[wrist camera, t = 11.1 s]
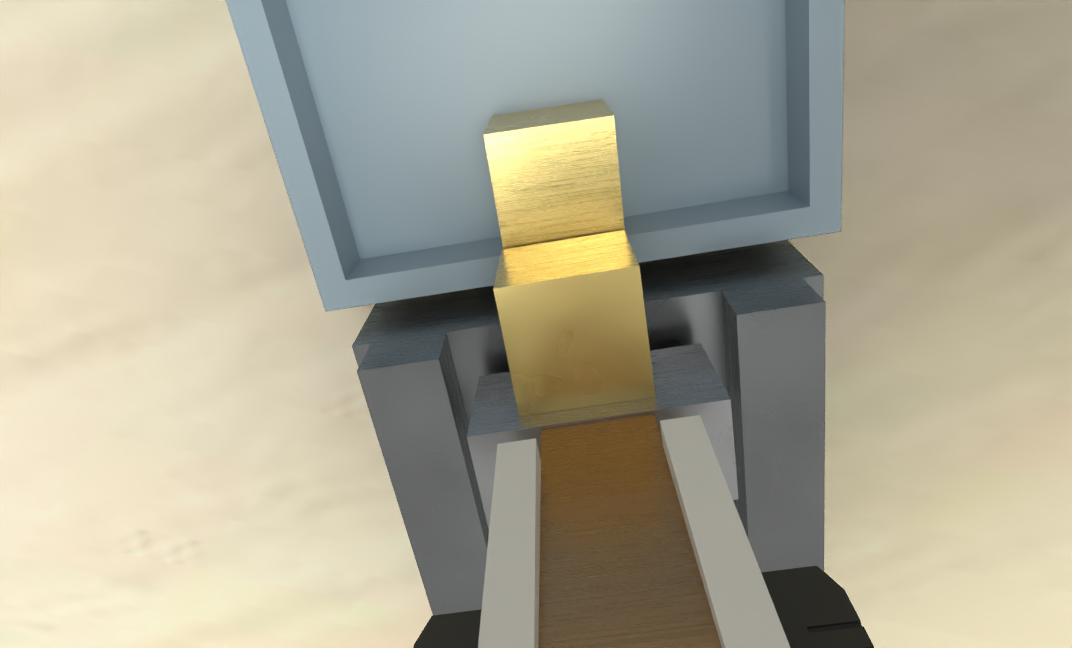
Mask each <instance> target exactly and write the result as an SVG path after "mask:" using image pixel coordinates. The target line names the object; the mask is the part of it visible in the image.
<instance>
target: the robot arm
mask: <svg viewBox="0 0 1072 648" xmlns="http://www.w3.org/2000/svg"><path fill="white" fill-rule="evenodd" d="M660 426H661V434H662V443H663V448H664V451H665V455H666V458H667V462H668V465H669V469H670V472H671V475H672V479H673V482H674V486H675V489H676V493H677V496H678V499H679V503H680V506H681V510H682V513H683V516H684V520H685V523H686V527H687V530H688V534H689V537H690V540H691V544H692V547H693V551H694V554H695V558H696V561H697V564H698V568H699V571H700V575H701V578H702V582H703V585H704V588H705V592H706V595H707V599H708V602H709V605H710V609H711V612H712V616H713V619H714V623H715V626H716V629H717V633H718V636H719V640H720V643H721V647H722V648H874V646H873V644H872V642H871V640H870V638H869V636H868V634H867V632H866V630H865V629H864V627H862V625H861V622H860V619H859V617H858V615H857V613H856V611H855V609H854V607H853V605H852V604H851V602H850V600H849V598H848V596H847V594H846V592H845V590H844V589H843V588H842V587H841V586H839V585H838V584H837V583H836V582H835V581H834V580H833V579H832V578H830V577H829V576H828V575H827V574H826V573H825V572H824V571H823V570H821V569H820V568H819V567H818V566H809V567H801V568H793V569H785V570H777V571H769V572H761V571H760V568H759V566H758V563H757V561H756V558H755V555H754V553H753V550H752V548H751V545H750V543H749V540H748V537H747V535H746V532H745V530H744V527H743V525H742V522H741V519H740V517H739V514H738V512H737V509H736V507H735V504H734V501H733V499H732V496H731V494H730V491H729V489H728V486H727V483H726V481H725V478H724V476H723V473H722V471H721V468H720V465H719V463H718V460H717V458H716V455H715V453H714V450H713V447H712V445H711V442H710V440H709V437H708V435H707V432H706V429H705V427H704V424H703V422H702V419H701V417H700V415H696V416H689V417H682V418H675V419H668V420H661V421H660ZM540 501H541V460H540V455H539V450H538V446H537V441H536V438H535V439H528V440H521V441H514V442H507V443H500V444H497V454H496V464H495V475H494V485H493V495H492V506H491V516H490V527H489V537H488V547H487V558H486V568H485V579H484V589H483V599H482V609H480V610H472V611H464V612H456V613H448V614H441V615H433V616H432V617H431V618H430V620H429V622H428V623H427V625H426V626H425V628H424V630H423V631H422V633H421V634H420V636H419V638H418V639H417V641H416V642H415V644H414V648H538V641H539V571H540Z"/></svg>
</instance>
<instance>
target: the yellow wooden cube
mask: <svg viewBox="0 0 1072 648" xmlns="http://www.w3.org/2000/svg"><path fill="white" fill-rule="evenodd" d="M484 140H485V146H486V152H487V158H488V163H489V169H490V175H491V181H492V187H493V192H494V198H495V204H496V210H497V216H498V221H499V227H500V233H501V239H502V245H503V249H509V248H516V247H522V246H528V245H534V244H540V243H546V242H552V241H559V240H565V239H571V238H577V237H583V236H589V235H595V234H602V233H608V232H614V231H620V230H624V231H625V227H624V216H623V205H622V195H621V184H620V174H619V163H618V153H617V142H616V132H615V121H614V115H613V113H612V112H611V110H610V109H609V107H608V106H607V104H606V103H605V101H604V100H603V99H600V100H593V101H586V102H580V103H573V104H566V105H560V106H553V107H546V108H540V109H533V110H526V111H520V112H513V113H506V114H500V115H493V116H491V119H490V121H489V123H488V126H487V128H486V130H485V132H484Z"/></svg>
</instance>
